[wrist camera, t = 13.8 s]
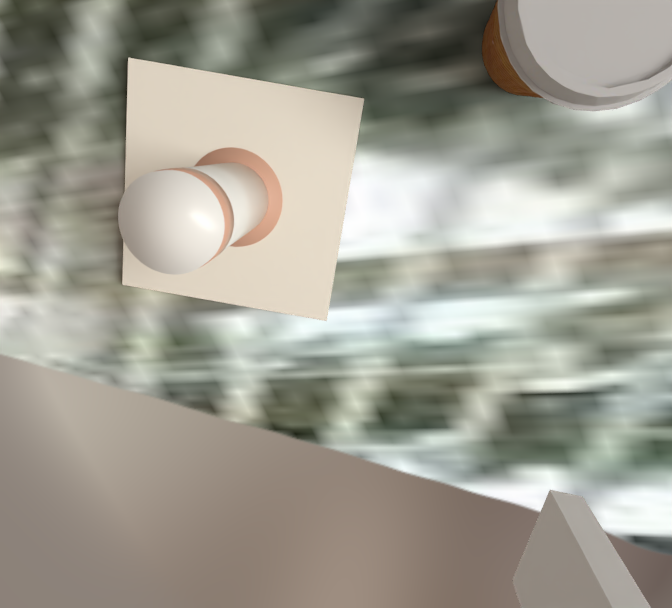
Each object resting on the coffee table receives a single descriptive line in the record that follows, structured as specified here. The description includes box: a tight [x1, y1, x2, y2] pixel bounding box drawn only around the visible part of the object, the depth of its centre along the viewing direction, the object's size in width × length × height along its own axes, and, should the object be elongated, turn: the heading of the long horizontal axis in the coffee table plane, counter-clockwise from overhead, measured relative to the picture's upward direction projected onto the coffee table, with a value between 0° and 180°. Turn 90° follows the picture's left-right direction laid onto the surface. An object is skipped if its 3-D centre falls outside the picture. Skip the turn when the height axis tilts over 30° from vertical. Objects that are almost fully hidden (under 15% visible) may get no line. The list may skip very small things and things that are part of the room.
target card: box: [122, 58, 364, 321], centre depth 35 cm, size 16×16×1 cm
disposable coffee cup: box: [482, 0, 672, 111], centre depth 26 cm, size 10×10×12 cm
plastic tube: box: [118, 162, 269, 275], centre depth 29 cm, size 5×5×12 cm
